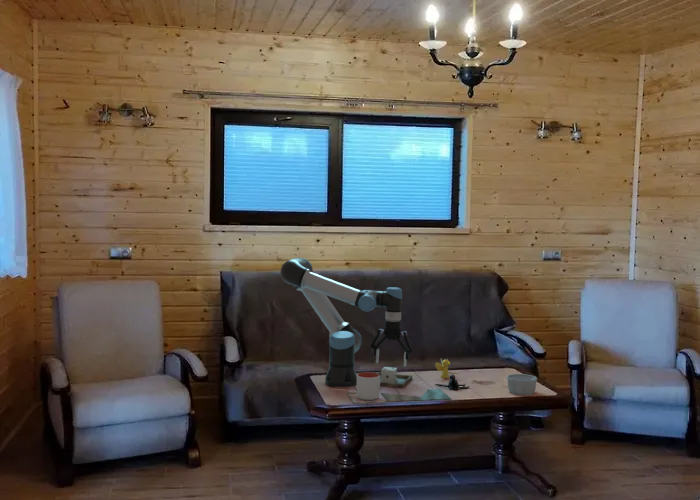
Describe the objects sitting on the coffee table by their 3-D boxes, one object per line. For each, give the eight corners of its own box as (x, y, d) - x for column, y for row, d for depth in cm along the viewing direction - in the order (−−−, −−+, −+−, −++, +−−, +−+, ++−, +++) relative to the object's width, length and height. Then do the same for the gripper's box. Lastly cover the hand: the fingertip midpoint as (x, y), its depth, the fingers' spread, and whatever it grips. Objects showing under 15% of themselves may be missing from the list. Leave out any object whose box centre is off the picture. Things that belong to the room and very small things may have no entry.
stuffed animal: (471, 388, 322) (450, 373, 320) (459, 406, 322) (438, 391, 321) (465, 381, 334) (445, 367, 332) (453, 398, 334) (432, 384, 332)
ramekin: (500, 389, 324) (500, 374, 323) (524, 387, 329) (524, 372, 329) (518, 397, 312) (518, 381, 311) (542, 394, 317) (543, 379, 316)
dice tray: (364, 385, 328) (364, 381, 328) (375, 376, 345) (376, 372, 345) (402, 389, 322) (402, 384, 322) (412, 379, 339) (412, 375, 339)
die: (380, 382, 332) (381, 369, 331) (384, 379, 338) (384, 366, 337) (393, 383, 330) (393, 370, 329) (396, 380, 336) (397, 367, 335)
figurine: (459, 381, 337) (460, 363, 336) (434, 379, 341) (435, 361, 341) (464, 376, 348) (465, 358, 348) (440, 373, 352) (440, 356, 352)
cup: (354, 400, 304) (355, 377, 303) (358, 394, 314) (358, 371, 313) (378, 401, 302) (378, 378, 301) (380, 395, 312) (381, 372, 311)
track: (353, 403, 298) (353, 402, 298) (346, 393, 314) (346, 392, 314) (451, 399, 307) (451, 398, 307) (439, 389, 323) (439, 388, 323)
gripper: (365, 319, 337) (363, 363, 339) (417, 323, 330) (414, 369, 332) (369, 316, 345) (367, 359, 346) (420, 321, 337) (418, 365, 339)
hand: (390, 364), depth 339 cm, fingers open, 13 cm apart
